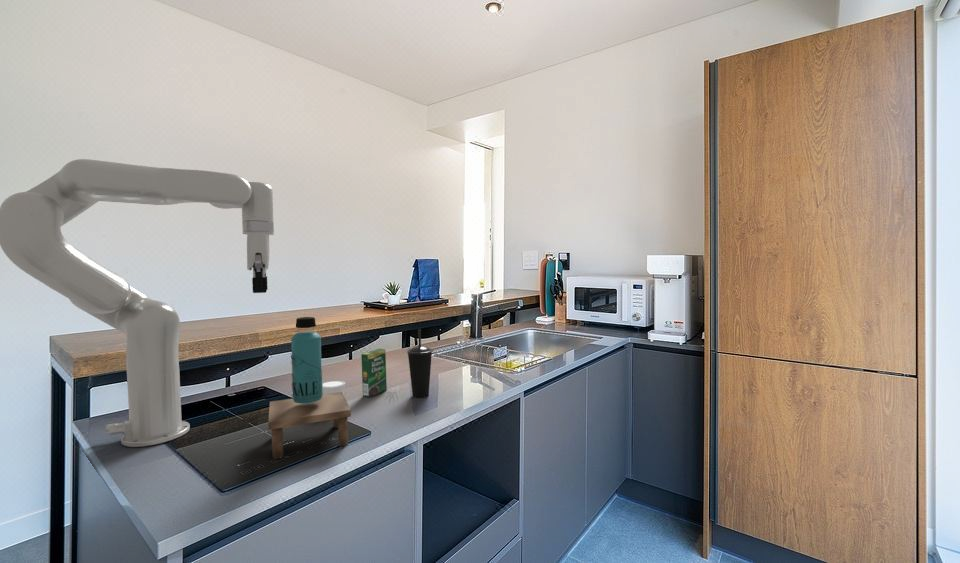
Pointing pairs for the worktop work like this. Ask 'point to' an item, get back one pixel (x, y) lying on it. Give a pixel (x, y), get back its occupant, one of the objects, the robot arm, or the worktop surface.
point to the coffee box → (374, 372)
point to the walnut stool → (308, 417)
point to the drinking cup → (420, 369)
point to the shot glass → (333, 387)
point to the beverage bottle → (306, 363)
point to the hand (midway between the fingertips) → (260, 291)
